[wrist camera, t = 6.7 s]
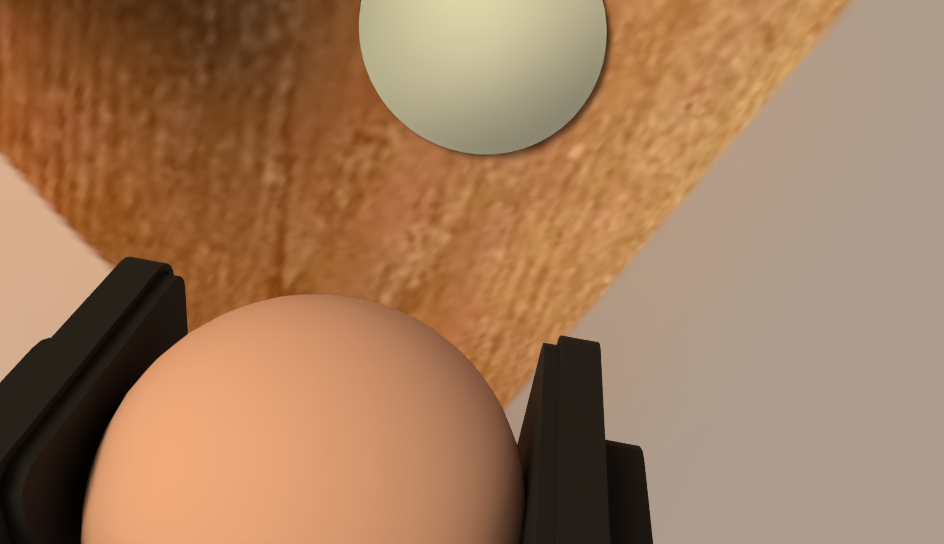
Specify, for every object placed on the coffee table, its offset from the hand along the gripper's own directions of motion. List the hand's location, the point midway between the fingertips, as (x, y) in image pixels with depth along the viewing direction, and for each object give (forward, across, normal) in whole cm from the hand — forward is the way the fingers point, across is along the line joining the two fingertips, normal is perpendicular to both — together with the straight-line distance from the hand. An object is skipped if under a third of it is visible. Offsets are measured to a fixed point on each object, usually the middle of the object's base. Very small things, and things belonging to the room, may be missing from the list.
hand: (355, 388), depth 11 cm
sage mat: (+18, 0, 0) cm, 18 cm away
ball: (-2, 0, 0) cm, 2 cm away
